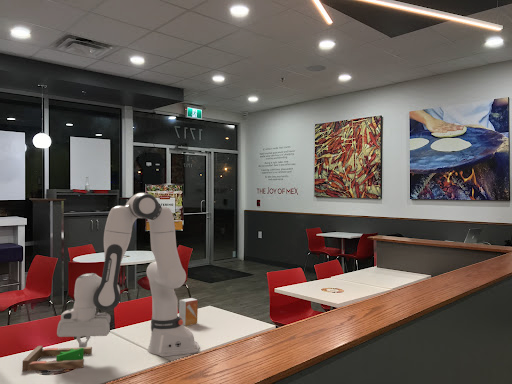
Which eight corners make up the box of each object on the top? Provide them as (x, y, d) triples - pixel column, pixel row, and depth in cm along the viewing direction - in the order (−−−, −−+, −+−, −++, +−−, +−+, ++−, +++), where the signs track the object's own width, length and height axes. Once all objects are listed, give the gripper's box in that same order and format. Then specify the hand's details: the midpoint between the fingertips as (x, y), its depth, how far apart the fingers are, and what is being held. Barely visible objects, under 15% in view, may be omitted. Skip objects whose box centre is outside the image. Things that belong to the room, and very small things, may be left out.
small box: (185, 326, 221) (185, 301, 222) (178, 323, 226) (179, 299, 226) (197, 323, 227) (198, 299, 227) (190, 321, 231) (191, 297, 232)
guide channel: (91, 352, 181) (92, 343, 181) (82, 367, 164) (82, 357, 164) (37, 355, 177) (37, 345, 177) (22, 371, 160) (22, 360, 161)
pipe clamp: (78, 357, 176) (78, 346, 176) (83, 359, 174) (83, 348, 174) (52, 365, 167) (52, 353, 167) (57, 367, 165) (58, 355, 165)
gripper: (112, 310, 178) (110, 343, 177) (60, 311, 174) (59, 345, 173) (109, 314, 172) (108, 348, 171) (56, 315, 168) (54, 350, 167)
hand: (82, 346), depth 172 cm, fingers closed
